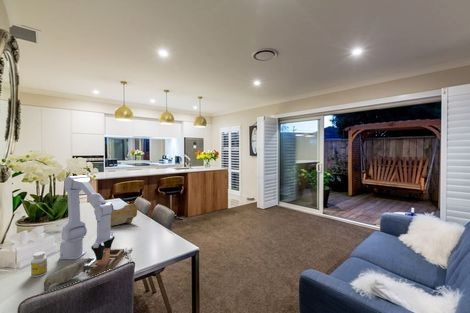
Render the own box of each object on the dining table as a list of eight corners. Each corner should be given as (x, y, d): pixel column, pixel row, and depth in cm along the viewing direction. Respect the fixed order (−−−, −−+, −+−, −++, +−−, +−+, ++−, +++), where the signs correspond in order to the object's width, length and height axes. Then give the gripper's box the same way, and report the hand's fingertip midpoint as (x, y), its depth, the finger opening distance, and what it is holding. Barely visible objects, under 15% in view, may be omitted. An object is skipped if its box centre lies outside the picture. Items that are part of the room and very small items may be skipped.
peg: (96, 268, 105) (97, 252, 105) (101, 263, 109) (101, 248, 109) (105, 268, 106) (105, 251, 105) (109, 263, 110) (109, 248, 109)
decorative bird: (42, 288, 92) (42, 270, 91) (85, 271, 105) (85, 256, 105) (46, 293, 89) (46, 275, 88) (90, 275, 102) (90, 259, 102)
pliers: (108, 261, 112) (120, 247, 127) (108, 264, 112) (120, 250, 127) (129, 260, 113) (138, 247, 128) (129, 263, 113) (138, 249, 128)
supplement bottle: (28, 275, 100) (28, 254, 99) (42, 269, 105) (42, 249, 104) (35, 278, 98) (35, 257, 97) (49, 272, 103) (49, 251, 102)
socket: (72, 268, 106) (72, 265, 106) (82, 260, 114) (82, 257, 114) (89, 268, 107) (89, 265, 107) (98, 260, 115) (98, 257, 115)
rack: (87, 274, 102) (87, 267, 102) (108, 253, 122) (109, 248, 122) (107, 274, 103) (108, 267, 103) (125, 253, 123) (125, 248, 123)
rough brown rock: (137, 218, 184) (137, 201, 184) (137, 223, 168) (137, 204, 169) (105, 222, 174) (105, 203, 175) (102, 228, 159) (102, 207, 160)
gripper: (104, 234, 100) (104, 263, 100) (118, 223, 114) (118, 248, 115) (88, 234, 99) (88, 263, 100) (104, 223, 114) (104, 248, 114)
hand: (103, 255), depth 107 cm, fingers open, 7 cm apart
